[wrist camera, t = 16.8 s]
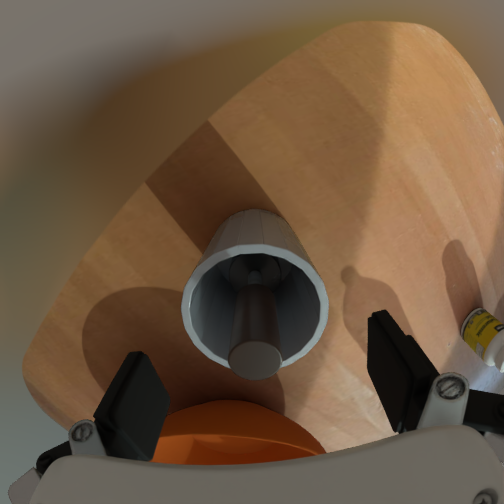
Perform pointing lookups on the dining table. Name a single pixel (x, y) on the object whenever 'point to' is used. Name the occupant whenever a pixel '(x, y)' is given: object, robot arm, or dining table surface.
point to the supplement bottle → (485, 337)
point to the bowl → (232, 436)
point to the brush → (255, 316)
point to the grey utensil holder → (223, 295)
